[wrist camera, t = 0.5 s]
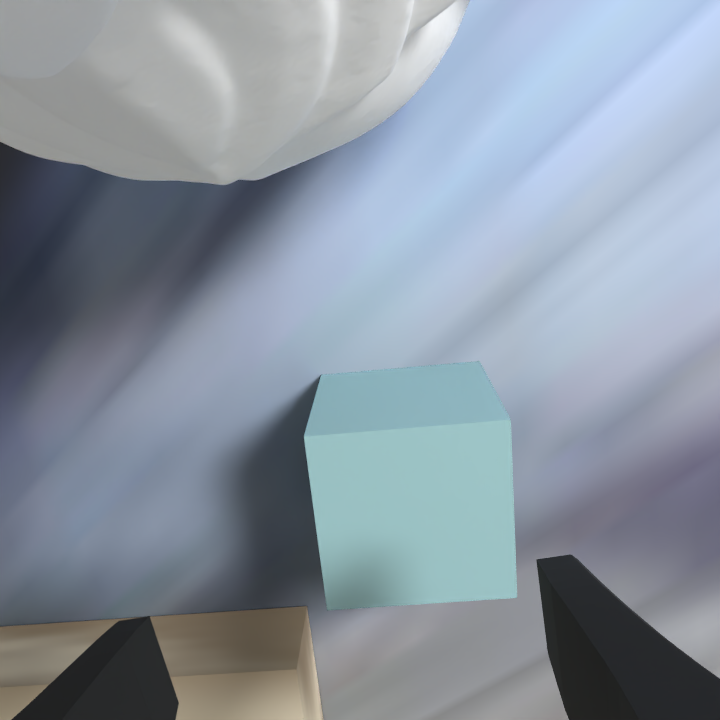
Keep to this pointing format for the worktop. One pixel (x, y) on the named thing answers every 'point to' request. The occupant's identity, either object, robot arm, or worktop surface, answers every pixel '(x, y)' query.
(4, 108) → the decorative rooster
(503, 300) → the worktop surface
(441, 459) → the teal block
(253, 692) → the birch plinth
